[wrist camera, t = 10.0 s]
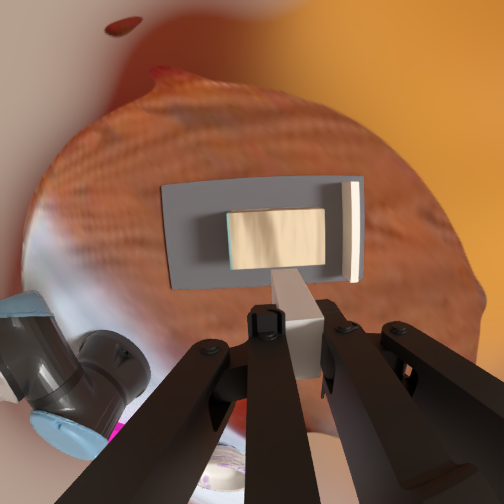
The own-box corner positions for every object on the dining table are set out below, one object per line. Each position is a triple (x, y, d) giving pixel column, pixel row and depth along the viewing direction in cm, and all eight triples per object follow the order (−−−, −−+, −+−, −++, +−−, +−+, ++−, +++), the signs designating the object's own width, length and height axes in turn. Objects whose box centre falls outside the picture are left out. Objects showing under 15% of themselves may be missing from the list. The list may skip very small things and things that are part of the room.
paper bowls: (179, 454, 51) (174, 477, 43) (212, 429, 48) (207, 456, 41) (230, 474, 53) (229, 497, 45) (267, 452, 50) (269, 478, 43)
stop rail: (342, 274, 41) (350, 282, 37) (341, 182, 38) (350, 181, 34) (349, 274, 41) (358, 282, 37) (349, 182, 38) (358, 181, 34)
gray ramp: (172, 288, 42) (172, 289, 41) (162, 185, 38) (161, 185, 38) (361, 278, 41) (362, 278, 41) (362, 176, 38) (363, 176, 37)
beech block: (230, 269, 34) (325, 264, 34) (226, 213, 33) (324, 209, 33) (233, 258, 40) (314, 254, 40) (230, 210, 39) (313, 206, 38)
